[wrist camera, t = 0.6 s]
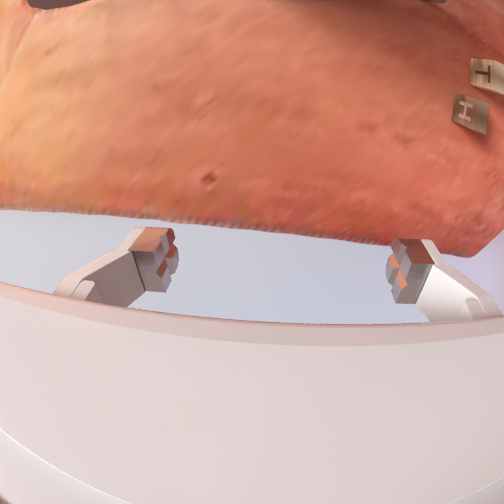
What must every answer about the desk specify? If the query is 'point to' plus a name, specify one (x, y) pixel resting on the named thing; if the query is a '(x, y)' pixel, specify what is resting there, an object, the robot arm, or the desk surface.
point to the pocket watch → (439, 1)
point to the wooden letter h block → (471, 112)
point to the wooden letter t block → (487, 75)
